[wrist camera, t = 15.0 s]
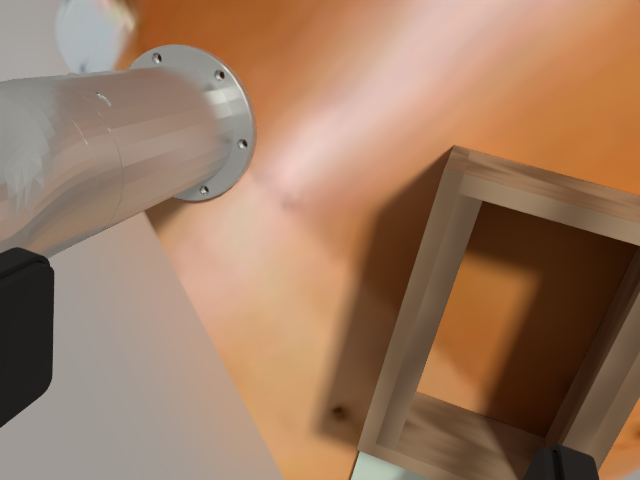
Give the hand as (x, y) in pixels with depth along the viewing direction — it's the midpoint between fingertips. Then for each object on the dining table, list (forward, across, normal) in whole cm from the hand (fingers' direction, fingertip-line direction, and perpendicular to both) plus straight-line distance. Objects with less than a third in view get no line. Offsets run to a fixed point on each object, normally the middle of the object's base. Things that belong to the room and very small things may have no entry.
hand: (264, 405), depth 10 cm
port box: (+33, -9, +12) cm, 37 cm away
